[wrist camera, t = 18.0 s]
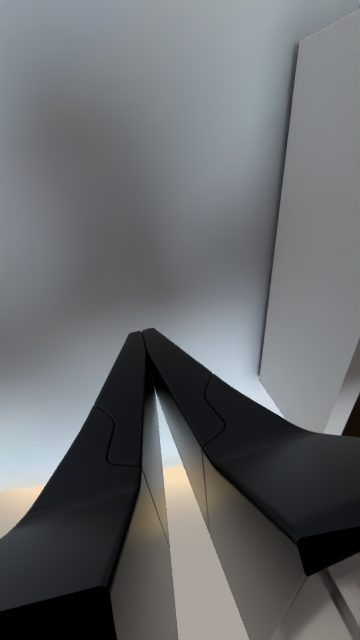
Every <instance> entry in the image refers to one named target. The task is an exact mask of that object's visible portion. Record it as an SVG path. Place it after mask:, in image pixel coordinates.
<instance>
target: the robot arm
mask: <svg viewBox="0 0 360 640" xmlns="http://www.w3.org/2000/svg"><path fill="white" fill-rule="evenodd" d="M153 383H154V384H153ZM154 387H155V389H154ZM155 391H156V394H157V397H158V400H159V403H160V405H161V408H162V411H163V413H164V416H165V418H166V421H167V424H168V426H169V429H170V432H171V434H172V437H173V439H174V442H175V445H176V447H177V450H178V453H179V455H180V458H181V460H182V463H183V466H184V468H185V471H186V474H187V476H188V479H189V481H190V484H191V487H192V489H193V492H194V495H195V497H196V500H197V502H198V505H199V508H200V510H201V513H202V516H203V518H204V521H205V523H206V526H207V529H208V531H209V534H210V537H211V539H212V542H213V545H214V547H215V550H216V553H217V555H218V558H219V560H220V563H221V566H222V568H223V571H224V574H225V576H226V579H227V581H228V584H229V587H230V589H231V592H232V594H233V597H234V599H235V603H236V605H237V608H238V610H239V613H240V616H241V618H242V621H243V624H244V626H245V629H246V631H247V634H248V637H249V639H250V640H360V438H357V437H349V436H340V435H332V434H324V433H317V432H313V431H309V430H306V429H304V428H301V427H299V426H297V425H294V424H293V423H291V422H289V421H287V420H285V419H284V418H282V417H280V416H279V415H277V414H275V413H274V412H272V411H270V410H269V409H267V408H265V407H263V406H262V405H260V404H258V403H257V402H255V401H253V400H252V399H250V398H248V397H247V396H245V395H243V394H242V393H240V392H239V391H237V390H236V389H234V388H233V387H231V386H230V385H228V384H227V383H226V382H224V381H223V380H221V379H220V378H219V377H217V376H216V375H215V374H213V373H212V372H211V371H209V370H208V369H207V368H206V367H204V366H203V365H202V364H200V363H199V362H198V361H196V360H195V359H194V358H192V357H191V356H190V355H189V354H187V353H186V352H185V351H183V350H182V349H181V348H179V347H178V346H177V345H175V344H174V343H173V342H172V341H170V340H169V339H168V338H166V337H165V336H164V335H162V334H161V333H160V332H158V331H157V330H156V329H154V328H150V329H145V330H143V331H142V332H141V331H137V332H132V333H130V334H129V335H128V337H127V339H126V341H125V343H124V345H123V347H122V349H121V351H120V353H119V355H118V357H117V359H116V361H115V363H114V365H113V367H112V369H111V371H110V373H109V375H108V377H107V379H106V381H105V383H104V385H103V387H102V389H101V391H100V393H99V395H98V397H97V399H96V401H95V403H94V406H93V407H92V409H91V411H90V413H89V415H88V417H87V419H86V421H85V423H84V425H83V426H82V428H81V430H80V432H79V434H78V435H77V437H76V438H75V440H74V442H73V443H72V445H71V447H70V448H69V450H68V452H67V453H66V455H65V456H64V458H63V459H62V461H61V462H60V464H59V465H58V467H57V469H56V470H55V472H54V473H53V475H52V476H51V478H50V479H49V481H48V482H47V484H46V486H45V487H44V489H43V490H42V492H41V493H40V495H39V497H38V498H37V499H36V501H35V502H34V504H33V505H32V507H31V508H30V509H29V511H28V512H27V513H26V514H25V516H24V517H23V518H22V519H21V520H20V521H19V522H18V523H17V525H16V526H14V527H13V528H12V529H11V530H10V531H9V532H8V533H7V534H6V535H5V536H3V537H2V538H1V539H0V640H178V631H177V620H176V611H175V610H176V609H175V599H174V588H173V577H172V566H171V557H170V545H169V534H168V523H167V512H166V501H165V491H164V480H163V469H162V458H161V447H160V436H159V425H158V414H157V403H156V394H155Z"/></svg>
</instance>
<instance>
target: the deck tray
mask: <svg viewBox="0 0 360 640" xmlns="http://www.w3.org/2000/svg"><path fill="white" fill-rule="evenodd" d="M259 381H260V382H261V384H262V385H263V387H264V388H265V390H266V391H267V393H268V394H269V396H270V397H271V398H272V400H273V401H274V403H275V404H276V406H277V407H278V409H279V410H280V412H281V413H282V415H283V416H284V418H285V419H286V420H287V421H289V422H291V423H293V424H294V425H297V426H299V427H301V428H304V429H306V430H309V431H313V432H317V433H324V434H332V435H340V436H341V434H342V431H343V429H344V427H345V425H346V422H347V420H348V418H349V416H350V413H351V411H352V409H353V406H354V404H355V402H356V400H357V397H358V395H359V393H360V8H358V9H356V10H354V11H352V12H351V13H349V14H347V15H345V16H343V17H341V18H339V19H338V20H336V21H334V22H332V23H330V24H328V25H327V26H325V27H323V28H321V29H319V30H317V31H316V32H314V33H312V34H310V35H308V36H306V37H305V38H303V39H301V40H300V41H299V50H298V58H297V67H296V75H295V83H294V92H293V100H292V109H291V117H290V126H289V134H288V142H287V151H286V159H285V168H284V176H283V184H282V193H281V201H280V210H279V218H278V227H277V235H276V243H275V252H274V260H273V269H272V277H271V285H270V294H269V302H268V311H267V319H266V328H265V336H264V344H263V353H262V361H261V370H260V378H259Z"/></svg>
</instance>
